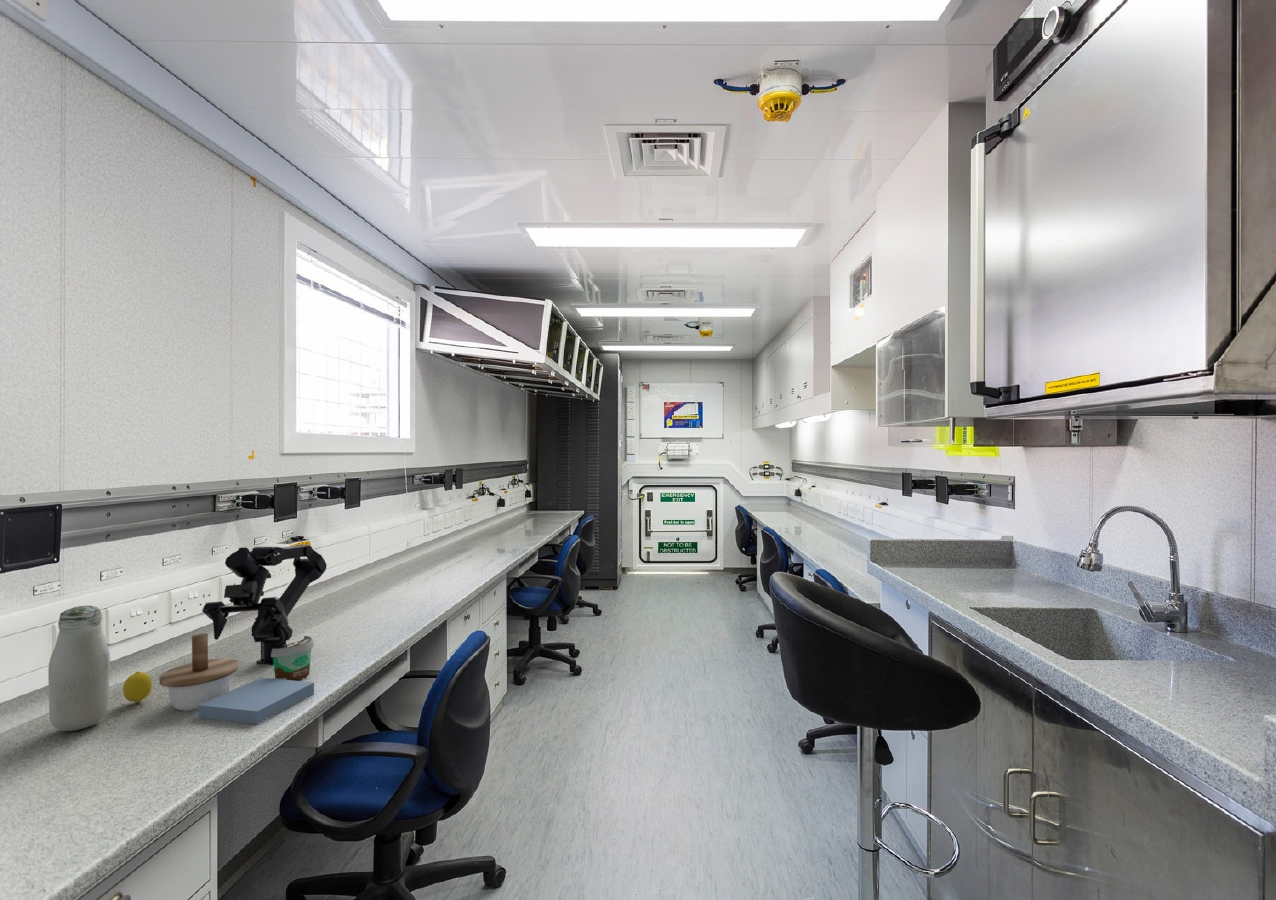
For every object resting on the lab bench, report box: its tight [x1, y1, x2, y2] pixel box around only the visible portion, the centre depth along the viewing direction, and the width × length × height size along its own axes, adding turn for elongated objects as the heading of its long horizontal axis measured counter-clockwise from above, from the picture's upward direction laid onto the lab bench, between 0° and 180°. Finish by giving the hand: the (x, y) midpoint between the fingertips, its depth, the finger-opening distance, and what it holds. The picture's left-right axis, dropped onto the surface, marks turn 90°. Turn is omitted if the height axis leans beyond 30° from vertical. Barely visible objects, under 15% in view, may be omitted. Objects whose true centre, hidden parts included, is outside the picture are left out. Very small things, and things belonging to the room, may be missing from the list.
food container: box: [271, 635, 315, 681], centre depth 160 cm, size 12×6×10 cm, turn 168°
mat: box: [198, 677, 315, 725], centre depth 143 cm, size 17×17×3 cm
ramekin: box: [167, 673, 233, 711], centre depth 146 cm, size 13×13×7 cm
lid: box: [158, 632, 240, 688], centre depth 146 cm, size 16×16×10 cm
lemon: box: [122, 670, 153, 704], centre depth 145 cm, size 6×6×8 cm
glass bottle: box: [47, 605, 111, 732], centre depth 132 cm, size 10×10×28 cm
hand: (234, 637), depth 155 cm, fingers open, 9 cm apart
